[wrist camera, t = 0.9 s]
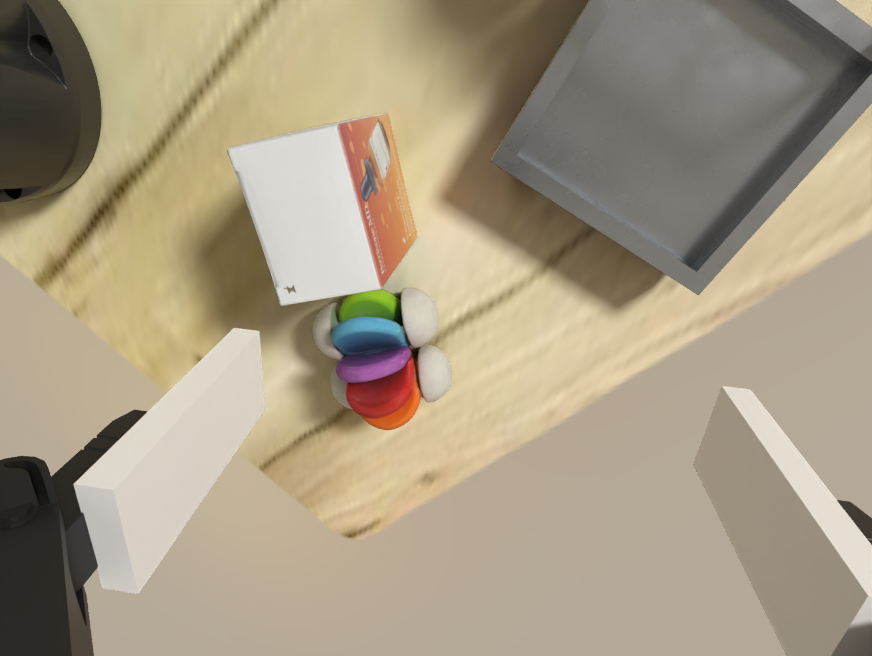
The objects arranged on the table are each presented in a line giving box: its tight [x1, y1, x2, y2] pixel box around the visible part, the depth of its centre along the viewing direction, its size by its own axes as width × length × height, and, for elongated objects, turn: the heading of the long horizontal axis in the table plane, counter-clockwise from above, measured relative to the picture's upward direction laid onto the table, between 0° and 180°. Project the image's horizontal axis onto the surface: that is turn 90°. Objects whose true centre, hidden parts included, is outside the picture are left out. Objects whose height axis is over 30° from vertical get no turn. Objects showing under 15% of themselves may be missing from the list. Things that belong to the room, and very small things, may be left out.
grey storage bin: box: [491, 0, 872, 295], centre depth 26 cm, size 14×14×10 cm
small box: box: [227, 113, 417, 306], centre depth 30 cm, size 8×6×10 cm
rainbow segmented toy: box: [312, 288, 452, 430], centre depth 36 cm, size 8×10×7 cm
